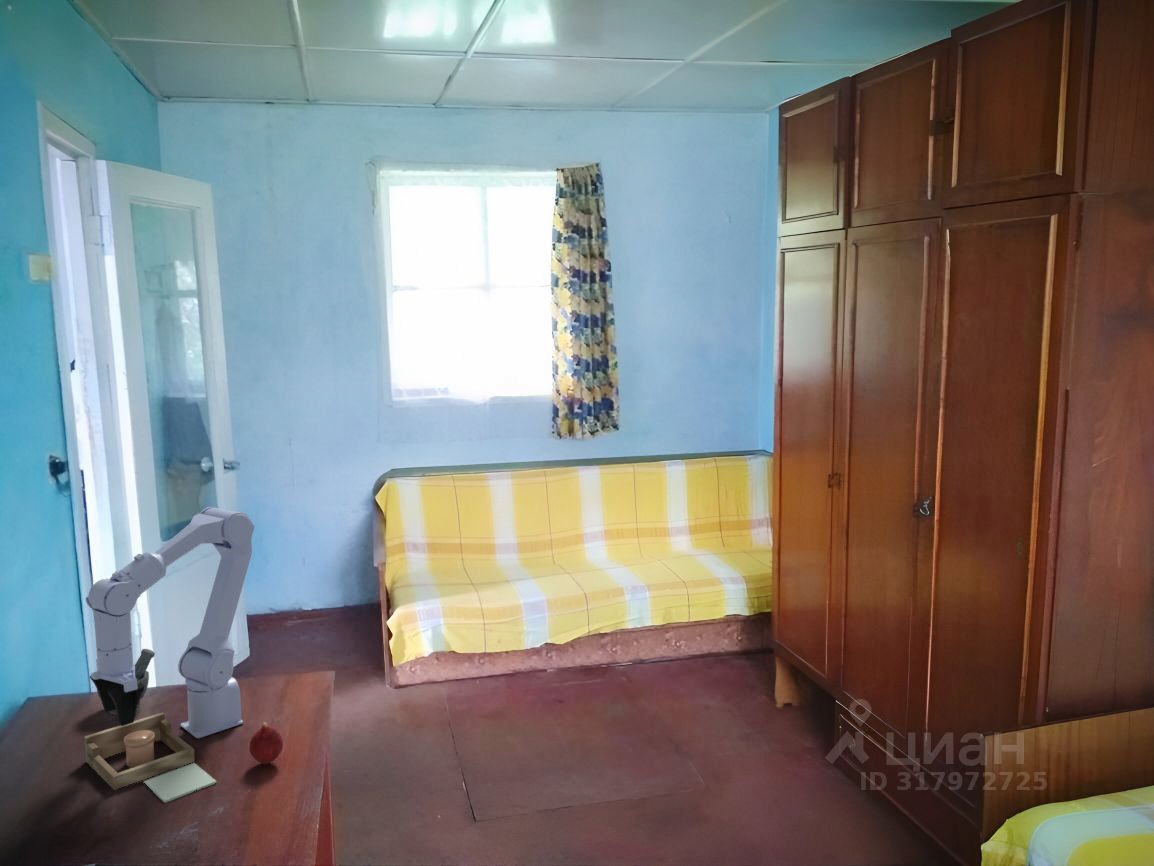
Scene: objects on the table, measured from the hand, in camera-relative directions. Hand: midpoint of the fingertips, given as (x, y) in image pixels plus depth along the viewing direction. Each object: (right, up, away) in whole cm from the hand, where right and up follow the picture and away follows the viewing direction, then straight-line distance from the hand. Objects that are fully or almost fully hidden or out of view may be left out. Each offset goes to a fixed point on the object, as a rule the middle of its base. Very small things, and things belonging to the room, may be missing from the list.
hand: (119, 716), depth 160 cm
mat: (+13, -10, -5) cm, 17 cm away
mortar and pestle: (-11, -6, +24) cm, 28 cm away
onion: (+26, -10, +3) cm, 28 cm away
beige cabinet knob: (+3, -9, +2) cm, 10 cm away
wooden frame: (+3, -9, +2) cm, 10 cm away
